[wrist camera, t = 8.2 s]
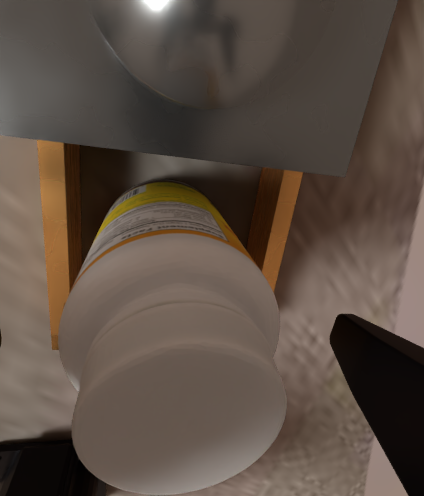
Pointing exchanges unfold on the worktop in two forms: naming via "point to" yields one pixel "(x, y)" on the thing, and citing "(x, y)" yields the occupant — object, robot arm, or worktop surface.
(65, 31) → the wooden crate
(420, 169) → the worktop surface
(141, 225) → the supplement bottle
